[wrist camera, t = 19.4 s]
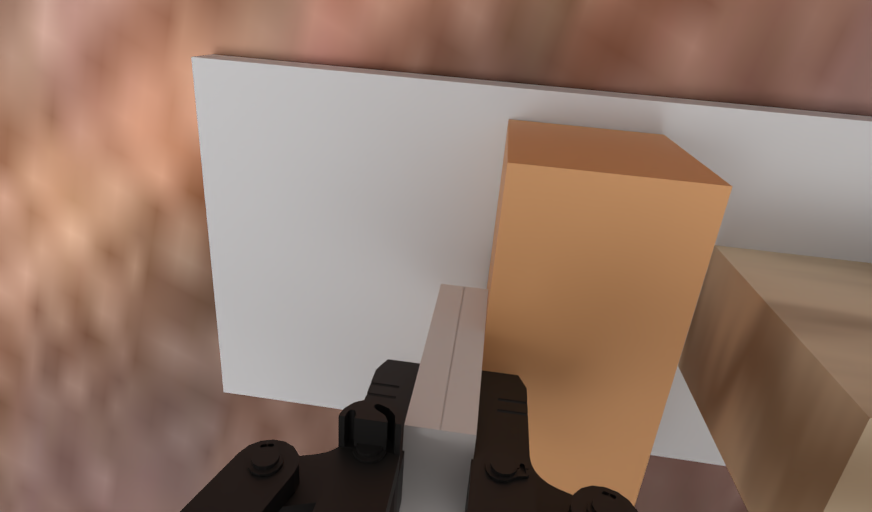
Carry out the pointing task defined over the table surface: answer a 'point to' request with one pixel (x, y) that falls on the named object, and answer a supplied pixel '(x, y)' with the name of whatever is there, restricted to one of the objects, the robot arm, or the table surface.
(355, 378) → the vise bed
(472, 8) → the table surface
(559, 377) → the block
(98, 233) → the table surface
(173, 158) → the table surface
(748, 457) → the maple block
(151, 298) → the table surface
